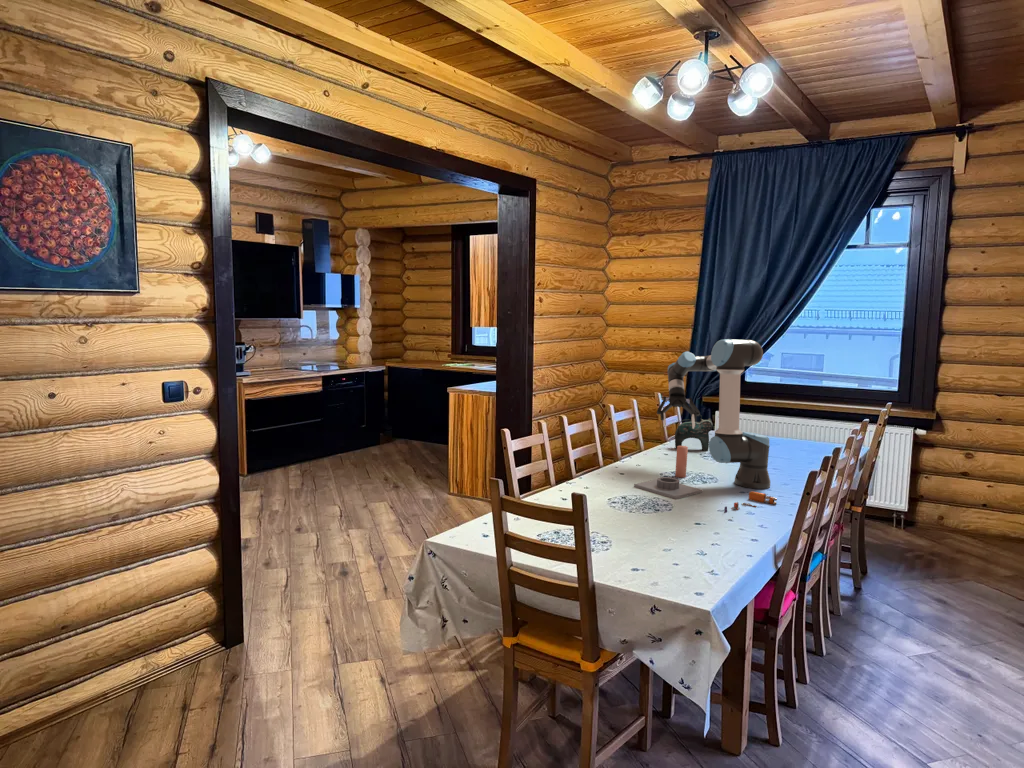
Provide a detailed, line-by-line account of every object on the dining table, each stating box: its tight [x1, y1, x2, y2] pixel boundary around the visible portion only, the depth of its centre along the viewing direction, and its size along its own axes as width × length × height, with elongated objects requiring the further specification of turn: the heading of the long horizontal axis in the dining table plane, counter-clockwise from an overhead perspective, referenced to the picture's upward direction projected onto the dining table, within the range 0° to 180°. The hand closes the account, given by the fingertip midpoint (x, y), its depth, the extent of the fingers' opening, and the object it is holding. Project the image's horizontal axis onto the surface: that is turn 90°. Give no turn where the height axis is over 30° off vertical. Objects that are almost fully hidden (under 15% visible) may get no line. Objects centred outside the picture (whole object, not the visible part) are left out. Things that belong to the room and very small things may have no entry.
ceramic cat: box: [674, 413, 713, 452], centre depth 372 cm, size 20×6×20 cm, turn 80°
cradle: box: [633, 476, 703, 500], centre depth 288 cm, size 22×18×4 cm
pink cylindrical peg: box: [674, 445, 689, 479], centre depth 312 cm, size 5×5×14 cm
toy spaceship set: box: [723, 490, 778, 521], centre depth 263 cm, size 11×35×4 cm, turn 140°
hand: (679, 426), depth 321 cm, fingers open, 13 cm apart
